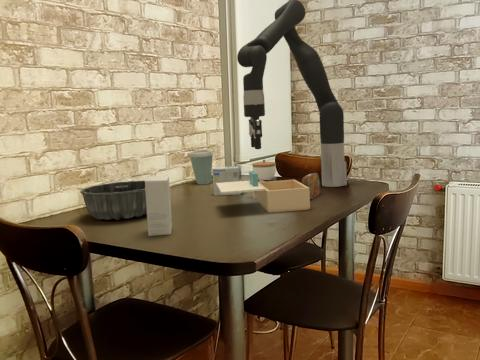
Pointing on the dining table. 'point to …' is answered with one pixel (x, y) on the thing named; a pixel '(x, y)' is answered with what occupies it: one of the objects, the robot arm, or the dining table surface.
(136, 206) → the bundt pan
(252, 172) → the lid
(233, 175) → the light bulb box
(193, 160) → the disposable coffee cup
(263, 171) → the lidded jar
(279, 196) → the box
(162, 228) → the skincare box
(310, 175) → the brown flat slab
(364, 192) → the dining table surface
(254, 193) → the birch block
